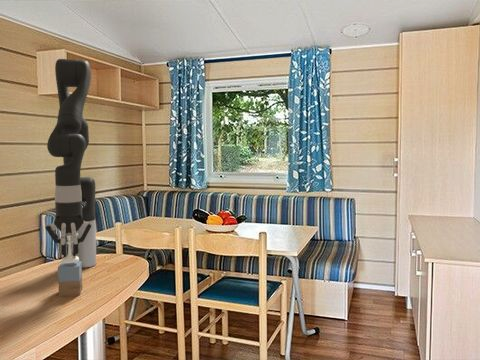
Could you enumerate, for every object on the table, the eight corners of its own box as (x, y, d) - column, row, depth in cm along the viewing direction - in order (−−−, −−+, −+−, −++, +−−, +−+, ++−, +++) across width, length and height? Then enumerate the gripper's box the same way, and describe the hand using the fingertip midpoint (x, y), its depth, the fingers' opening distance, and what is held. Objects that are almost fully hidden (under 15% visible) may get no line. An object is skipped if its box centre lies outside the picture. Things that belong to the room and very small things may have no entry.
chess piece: (65, 258, 131) (63, 227, 130) (81, 258, 131) (79, 226, 130) (59, 263, 126) (57, 230, 125) (76, 262, 126) (74, 230, 125)
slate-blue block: (61, 276, 131) (60, 262, 131) (81, 274, 133) (81, 260, 132) (58, 282, 125) (57, 267, 125) (79, 280, 127) (79, 266, 127)
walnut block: (62, 290, 132) (61, 276, 131) (82, 288, 133) (82, 274, 133) (58, 297, 126) (58, 282, 125) (80, 295, 127) (79, 280, 127)
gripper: (93, 197, 132) (95, 251, 134) (46, 198, 129) (48, 254, 130) (91, 200, 125) (92, 257, 127) (41, 202, 122) (43, 260, 123)
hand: (70, 255), depth 128 cm, fingers closed on chess piece
